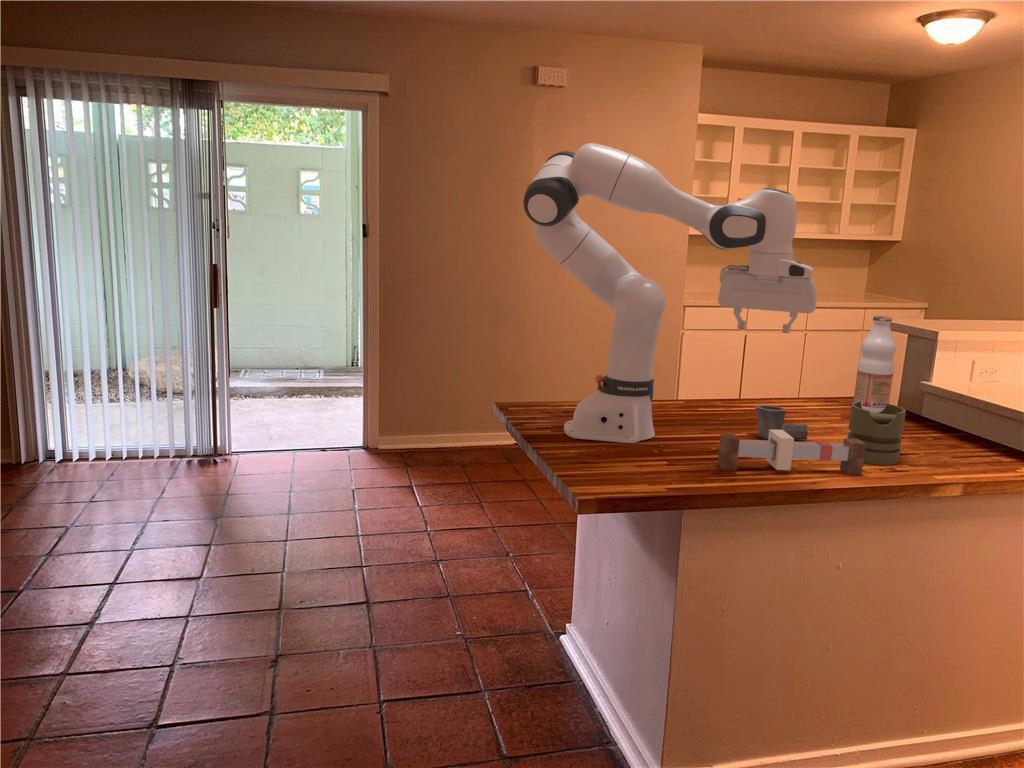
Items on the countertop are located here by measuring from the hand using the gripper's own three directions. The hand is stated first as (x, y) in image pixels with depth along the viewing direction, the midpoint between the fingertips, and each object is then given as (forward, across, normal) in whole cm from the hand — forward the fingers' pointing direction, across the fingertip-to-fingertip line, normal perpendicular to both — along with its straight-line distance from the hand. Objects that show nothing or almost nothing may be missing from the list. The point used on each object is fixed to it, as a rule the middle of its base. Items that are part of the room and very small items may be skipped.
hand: (763, 330), depth 169 cm
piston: (+30, +24, +18) cm, 42 cm away
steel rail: (+27, +9, -3) cm, 28 cm away
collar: (+29, +6, -4) cm, 30 cm away
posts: (+29, +9, -3) cm, 31 cm away
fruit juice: (+30, +22, +69) cm, 78 cm away
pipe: (+30, +3, +22) cm, 37 cm away
